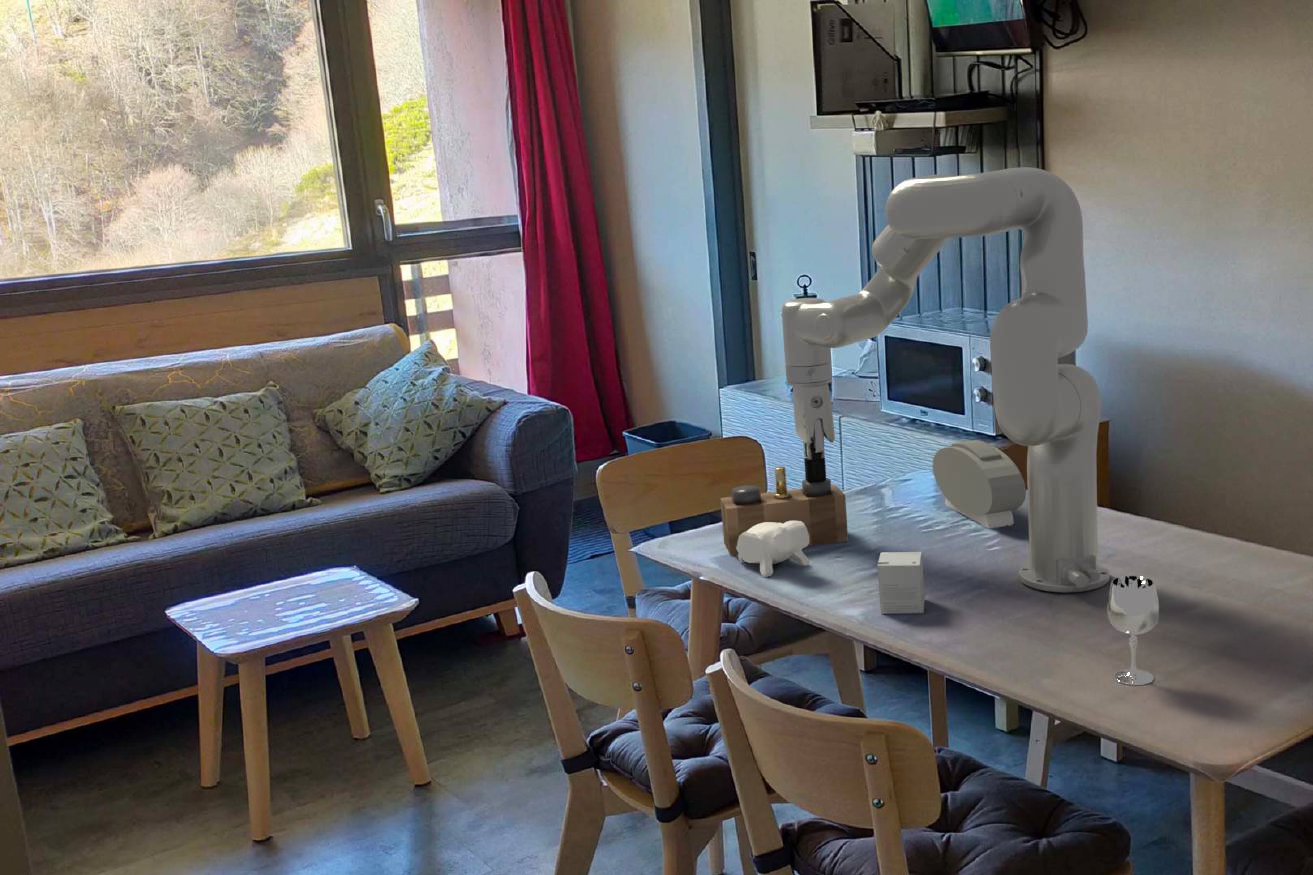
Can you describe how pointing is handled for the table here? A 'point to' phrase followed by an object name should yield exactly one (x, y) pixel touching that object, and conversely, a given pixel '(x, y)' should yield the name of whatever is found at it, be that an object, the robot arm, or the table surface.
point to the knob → (816, 488)
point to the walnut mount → (788, 516)
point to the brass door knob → (781, 484)
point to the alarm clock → (979, 482)
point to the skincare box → (901, 582)
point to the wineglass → (1133, 618)
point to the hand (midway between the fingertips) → (816, 480)
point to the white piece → (773, 544)
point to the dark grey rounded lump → (746, 495)
